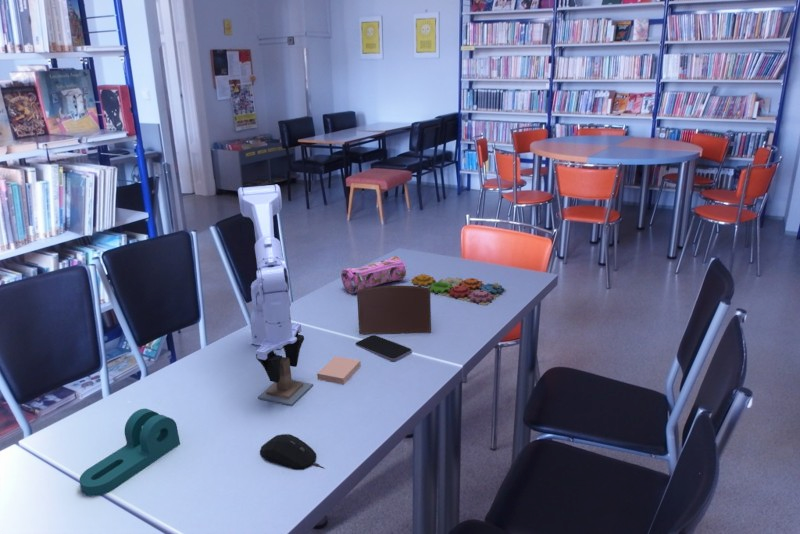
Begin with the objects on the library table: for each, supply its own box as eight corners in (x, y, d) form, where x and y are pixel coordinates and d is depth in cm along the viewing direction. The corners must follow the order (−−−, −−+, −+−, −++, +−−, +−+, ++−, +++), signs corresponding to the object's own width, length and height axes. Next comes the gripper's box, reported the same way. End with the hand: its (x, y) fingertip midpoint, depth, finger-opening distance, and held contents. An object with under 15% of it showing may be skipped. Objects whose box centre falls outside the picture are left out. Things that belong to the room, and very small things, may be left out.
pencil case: (353, 298, 184) (352, 272, 181) (339, 290, 192) (338, 264, 189) (409, 283, 195) (408, 258, 192) (394, 275, 203) (393, 251, 200)
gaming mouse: (316, 481, 105) (314, 462, 104) (253, 457, 112) (251, 440, 111) (336, 460, 110) (334, 443, 109) (275, 439, 117) (273, 422, 116)
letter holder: (431, 333, 159) (430, 285, 154) (359, 335, 160) (356, 287, 155) (429, 318, 169) (429, 272, 164) (361, 320, 169) (358, 274, 164)
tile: (317, 373, 138) (343, 378, 135) (335, 356, 145) (360, 360, 143) (317, 380, 138) (343, 385, 136) (335, 363, 146) (360, 367, 143)
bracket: (158, 435, 120) (151, 402, 117) (180, 445, 116) (173, 411, 114) (74, 489, 105) (64, 453, 102) (96, 502, 102) (87, 464, 99)
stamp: (266, 394, 131) (262, 363, 129) (281, 381, 137) (277, 351, 134) (288, 399, 129) (285, 368, 127) (303, 385, 134) (300, 355, 132)
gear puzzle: (401, 288, 192) (401, 277, 191) (427, 273, 204) (427, 262, 203) (486, 308, 175) (486, 295, 173) (509, 290, 187) (509, 279, 186)
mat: (257, 398, 131) (257, 396, 131) (280, 379, 139) (280, 377, 138) (291, 406, 127) (291, 404, 127) (313, 385, 135) (312, 383, 135)
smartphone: (373, 334, 159) (413, 349, 149) (373, 337, 159) (413, 353, 149) (353, 343, 154) (393, 359, 144) (353, 347, 155) (393, 363, 144)
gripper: (273, 335, 119) (280, 392, 124) (310, 308, 132) (315, 361, 136) (245, 330, 122) (253, 386, 126) (284, 304, 134) (290, 356, 139)
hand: (283, 373), depth 131 cm, fingers open, 7 cm apart
